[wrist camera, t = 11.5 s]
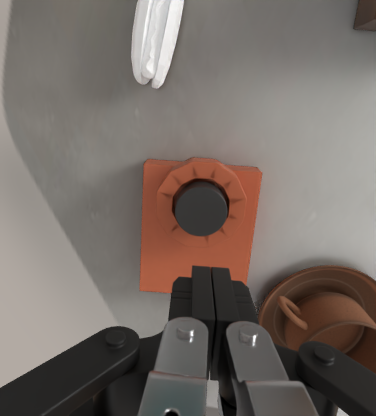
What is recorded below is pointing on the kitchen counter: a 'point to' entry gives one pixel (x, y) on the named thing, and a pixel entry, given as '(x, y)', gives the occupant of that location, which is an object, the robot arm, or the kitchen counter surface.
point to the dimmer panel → (366, 15)
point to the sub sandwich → (154, 39)
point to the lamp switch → (200, 209)
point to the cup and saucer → (324, 311)
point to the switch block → (184, 242)
